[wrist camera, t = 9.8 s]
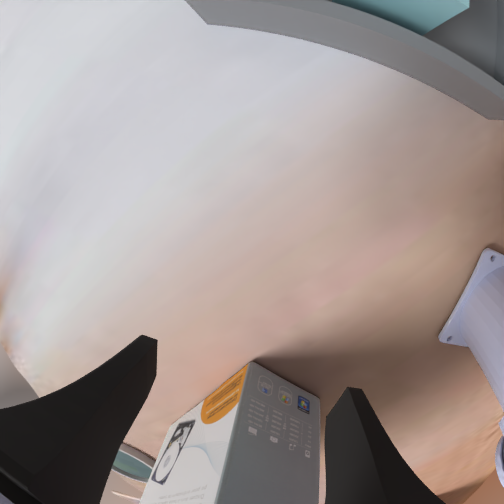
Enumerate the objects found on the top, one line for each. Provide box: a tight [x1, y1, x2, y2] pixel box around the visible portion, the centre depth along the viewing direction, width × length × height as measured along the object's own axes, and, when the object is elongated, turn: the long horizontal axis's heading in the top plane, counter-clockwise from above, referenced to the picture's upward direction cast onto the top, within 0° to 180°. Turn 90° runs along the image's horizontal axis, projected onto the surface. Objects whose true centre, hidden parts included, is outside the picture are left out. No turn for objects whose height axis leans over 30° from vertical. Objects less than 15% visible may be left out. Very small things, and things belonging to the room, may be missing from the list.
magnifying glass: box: [111, 443, 155, 483], centre depth 34 cm, size 13×31×2 cm, turn 86°
